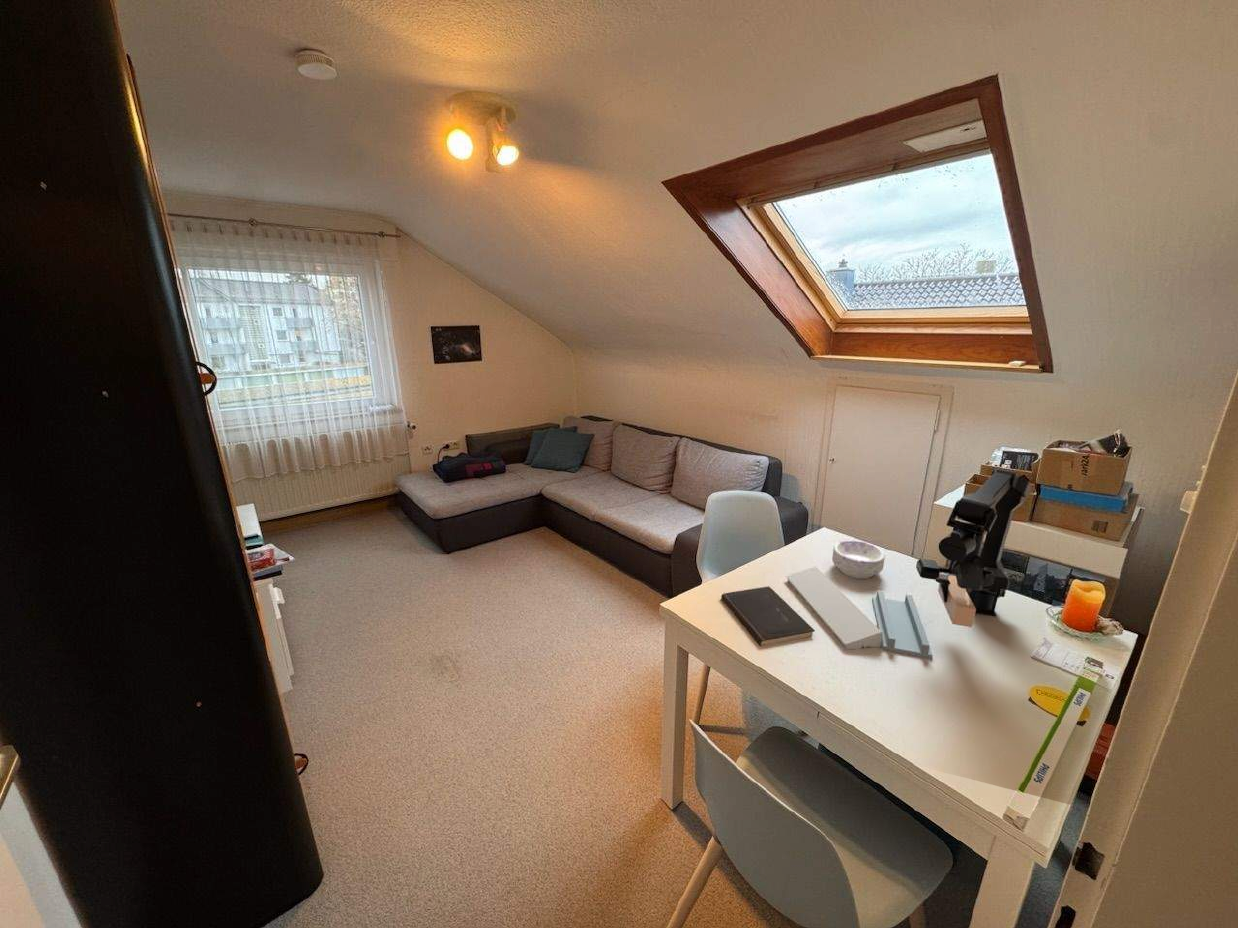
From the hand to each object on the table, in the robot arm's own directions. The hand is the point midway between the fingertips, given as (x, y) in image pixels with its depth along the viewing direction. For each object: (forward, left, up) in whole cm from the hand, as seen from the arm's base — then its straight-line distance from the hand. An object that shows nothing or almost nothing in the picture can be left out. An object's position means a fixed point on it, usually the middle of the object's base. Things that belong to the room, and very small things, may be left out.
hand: (954, 603), depth 128 cm
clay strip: (0, 0, -1) cm, 1 cm away
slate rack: (+11, -3, -11) cm, 16 cm away
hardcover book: (+46, +4, -12) cm, 47 cm away
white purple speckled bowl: (+19, -31, -11) cm, 38 cm away
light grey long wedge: (+28, -5, -12) cm, 31 cm away
